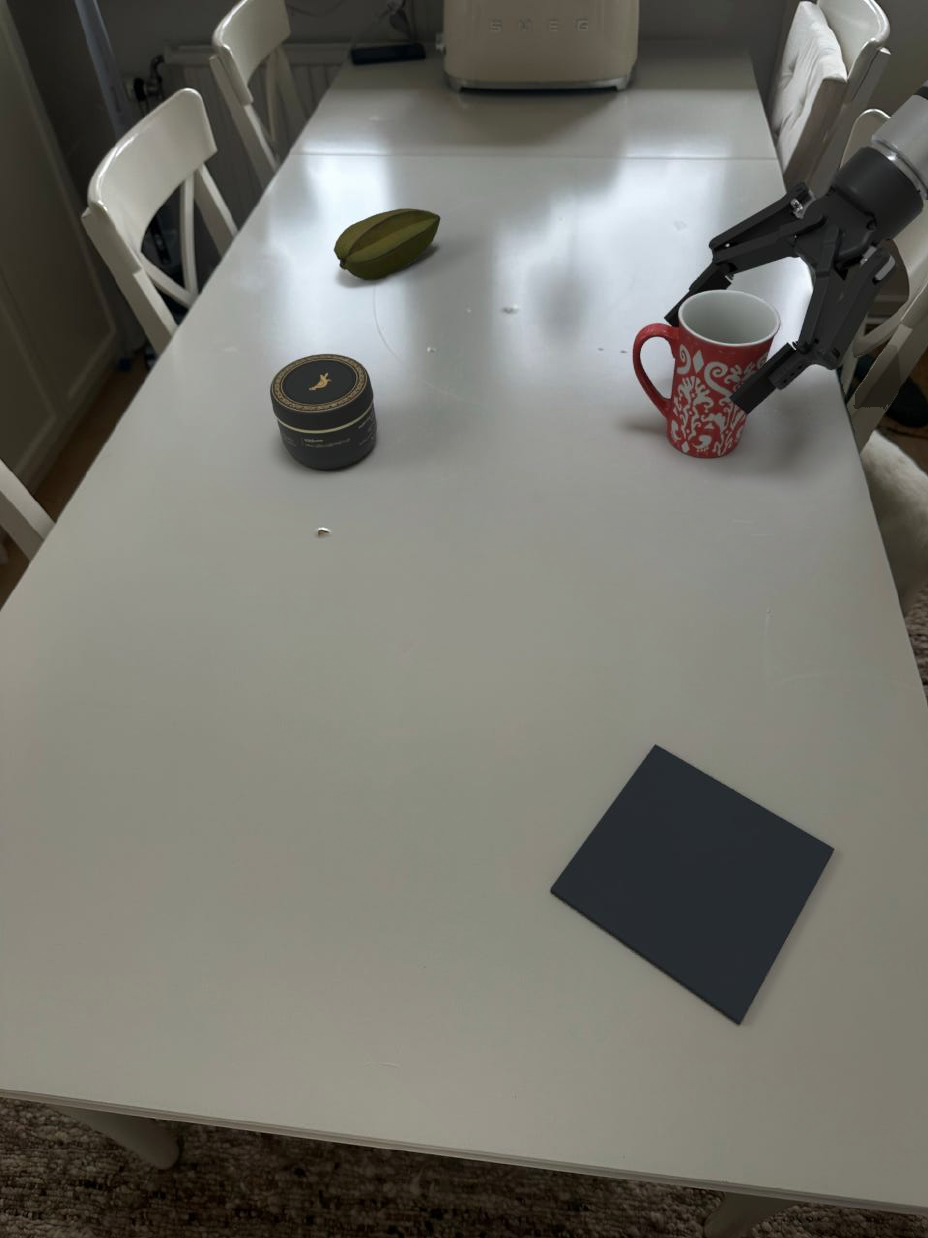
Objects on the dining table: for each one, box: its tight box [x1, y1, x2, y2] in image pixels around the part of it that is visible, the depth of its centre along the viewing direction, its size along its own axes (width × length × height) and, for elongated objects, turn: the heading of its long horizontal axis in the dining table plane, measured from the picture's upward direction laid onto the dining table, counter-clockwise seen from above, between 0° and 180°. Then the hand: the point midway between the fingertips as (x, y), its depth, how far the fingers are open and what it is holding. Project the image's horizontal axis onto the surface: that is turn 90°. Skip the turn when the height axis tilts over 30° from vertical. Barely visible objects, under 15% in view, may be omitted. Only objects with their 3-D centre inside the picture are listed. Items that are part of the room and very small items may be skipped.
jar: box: [269, 353, 378, 471], centre depth 87 cm, size 10×10×8 cm
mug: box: [631, 289, 782, 458], centre depth 83 cm, size 13×9×14 cm
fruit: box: [333, 207, 441, 281], centre depth 109 cm, size 11×12×7 cm
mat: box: [549, 743, 835, 1025], centre depth 59 cm, size 14×14×1 cm
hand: (703, 364), depth 82 cm, fingers open, 13 cm apart
